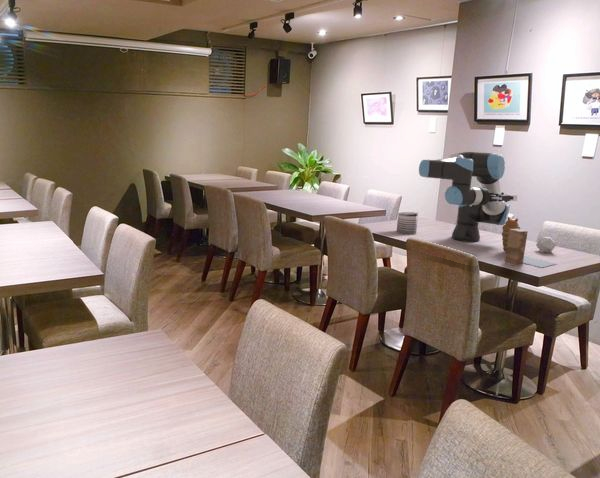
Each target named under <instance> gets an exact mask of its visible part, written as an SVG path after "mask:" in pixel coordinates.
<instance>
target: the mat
mask: <svg viewBox="0 0 600 478" xmlns="http://www.w3.org/2000/svg"><path fill="white" fill-rule="evenodd" d="M523 264H524V265H529V266H533V267H536V266H537V268H541V269H544V268H547V267H550V266H555V265H557V263H556V262H551V261H547V260H543V259H540V258H539V259H538V258H535V257H530V256H527V255H524V259H523ZM543 267H544V268H543Z"/></svg>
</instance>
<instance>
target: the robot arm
mask: <svg viewBox="0 0 600 478" xmlns="http://www.w3.org/2000/svg"><path fill="white" fill-rule="evenodd" d="M505 163H506V162H505V158H504V156H503V155H502V154H501V153H494V152H477V151H463V152H459V153H458V152H457V153H453V154H450V155H449V156H448V157H444V158H439V159H422V160H421V161H420V163H419V166H418V173H419V176H420V177H423V178H429V179H438V180H439V179H442V180H449V181H452V182H451V186H449V187H447V188H446V190H445V192H444V198H445V201H446V202H447V203H448V204H449V205H455V206H457V205H458V207H457V209H458V210H457V219H456V223H455V224H456V225H455V227H454V229H453V231H452V233H451V239H454V240H456V241H461V242H470V243H471V242H475V243H476V242H480V240H481V235H480V229H479V223H483V224H488V225H489V224H490V225H496V226H504V225H505V224H506V221H507V220H508V217H509V213H510V207H511V205H510V204H508V202H511V201H512V202H517V201H518V194H512V193H511V194H506V193H505V192H501V185H500V179H502V178H503V177H504V174H505V168H506V167H505ZM473 177H474V178H475V177H476V181H477V182H478V183H480V187H474V186H472V187H471V184H472V178H473Z"/></svg>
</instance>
